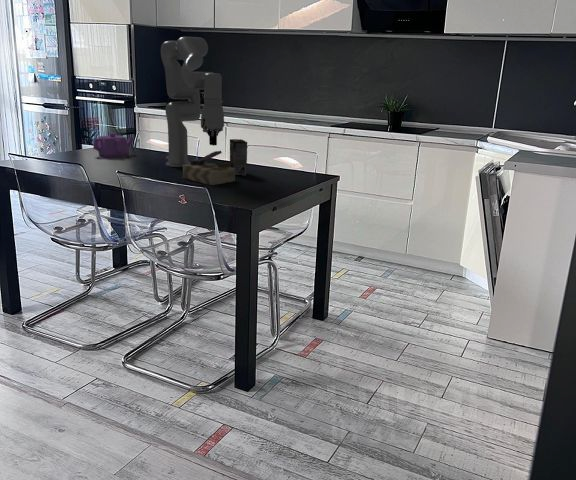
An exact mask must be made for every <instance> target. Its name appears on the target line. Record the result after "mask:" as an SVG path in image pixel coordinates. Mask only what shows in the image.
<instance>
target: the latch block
mask: <svg viewBox="0 0 576 480" xmlns="http://www.w3.org/2000/svg"><path fill="white" fill-rule="evenodd" d="M195 161H196V160H195ZM195 161H194V160H190V161H189V162H190V164H187V165H183V167H182V178H183V179H185V180H190V181H193V182H197V183H202V184H205V185H208V186H216V185H220V184H226V183H227V182H228V183H233V181H234V182H236V176H235V168H232V167H230V166H228V165H229V164H228V163H220V164H218V163H214V162H208V161H205V162H203V163H200V164H195Z"/></svg>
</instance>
